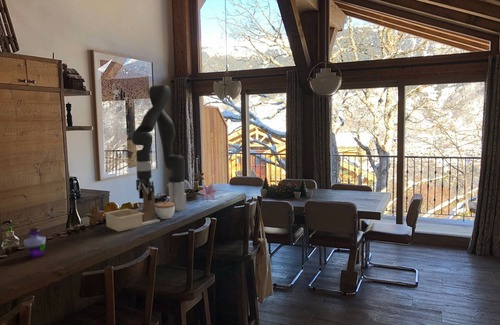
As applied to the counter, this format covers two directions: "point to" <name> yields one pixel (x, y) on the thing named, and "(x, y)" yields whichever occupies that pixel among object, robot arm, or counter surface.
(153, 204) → the wooden block
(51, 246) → the counter surface
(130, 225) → the carton
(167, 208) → the lidded jar
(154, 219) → the grey tile
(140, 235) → the counter surface
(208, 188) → the lily
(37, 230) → the potion bottle
